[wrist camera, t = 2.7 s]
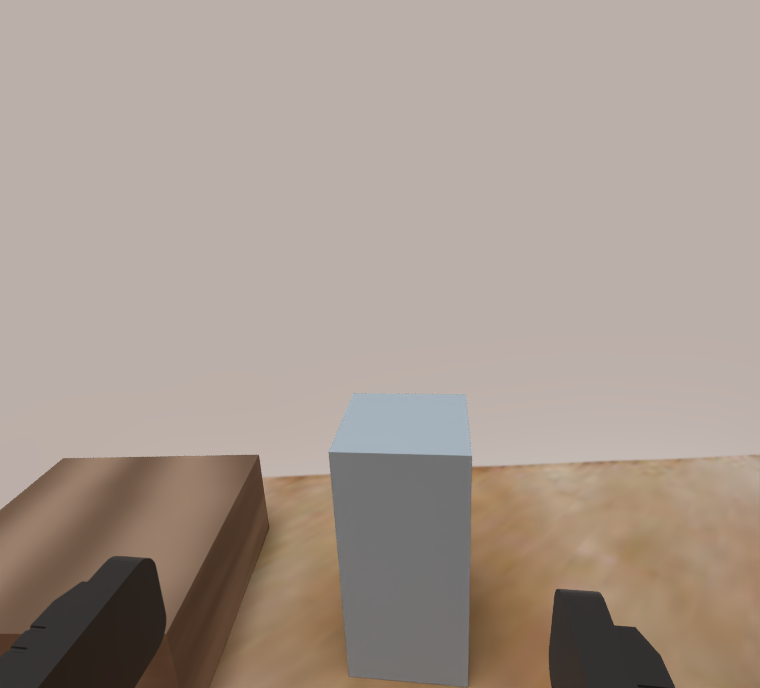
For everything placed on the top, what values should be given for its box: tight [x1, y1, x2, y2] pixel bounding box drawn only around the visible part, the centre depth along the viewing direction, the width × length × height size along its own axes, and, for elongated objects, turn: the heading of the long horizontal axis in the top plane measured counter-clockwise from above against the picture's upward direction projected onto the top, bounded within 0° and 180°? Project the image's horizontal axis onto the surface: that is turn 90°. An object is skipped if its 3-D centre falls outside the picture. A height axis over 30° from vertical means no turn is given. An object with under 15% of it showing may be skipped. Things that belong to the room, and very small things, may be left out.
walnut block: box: [0, 455, 269, 688], centre depth 26 cm, size 13×13×6 cm
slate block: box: [329, 393, 472, 687], centre depth 23 cm, size 6×6×12 cm
